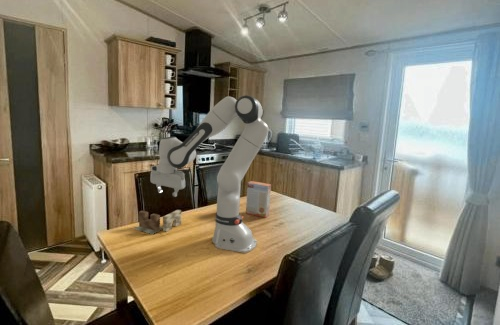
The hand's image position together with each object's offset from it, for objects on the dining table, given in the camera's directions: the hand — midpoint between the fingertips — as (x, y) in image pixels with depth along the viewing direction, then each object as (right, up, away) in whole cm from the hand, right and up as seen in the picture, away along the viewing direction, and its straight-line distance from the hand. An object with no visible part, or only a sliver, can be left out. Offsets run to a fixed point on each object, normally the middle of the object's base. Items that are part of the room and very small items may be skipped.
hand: (167, 194), depth 140 cm
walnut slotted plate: (-11, -19, +3) cm, 22 cm away
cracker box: (+47, -17, +33) cm, 60 cm away
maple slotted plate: (0, -19, +7) cm, 20 cm away
